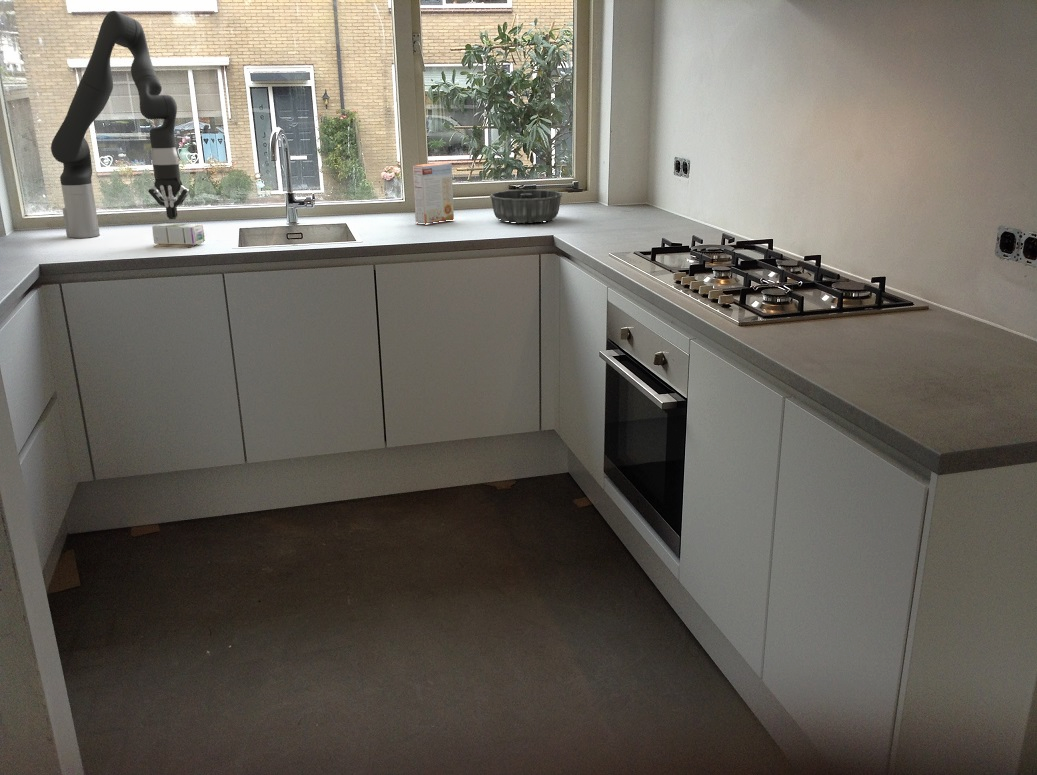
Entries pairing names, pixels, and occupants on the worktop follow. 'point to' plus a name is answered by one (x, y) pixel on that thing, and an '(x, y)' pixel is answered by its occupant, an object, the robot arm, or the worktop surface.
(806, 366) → the worktop surface
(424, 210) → the cracker box
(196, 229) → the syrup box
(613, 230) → the worktop surface
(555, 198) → the bundt pan
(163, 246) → the wooden slatted trivet
